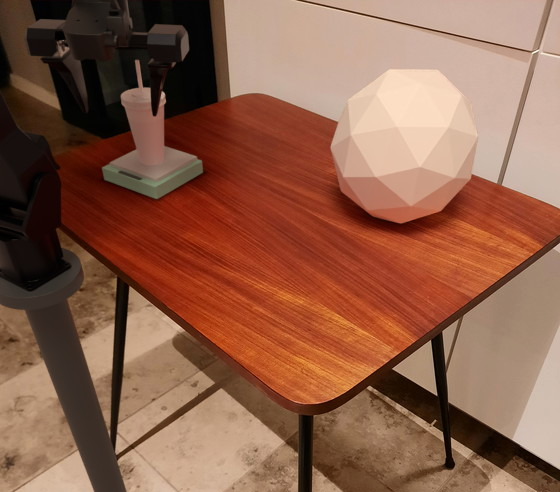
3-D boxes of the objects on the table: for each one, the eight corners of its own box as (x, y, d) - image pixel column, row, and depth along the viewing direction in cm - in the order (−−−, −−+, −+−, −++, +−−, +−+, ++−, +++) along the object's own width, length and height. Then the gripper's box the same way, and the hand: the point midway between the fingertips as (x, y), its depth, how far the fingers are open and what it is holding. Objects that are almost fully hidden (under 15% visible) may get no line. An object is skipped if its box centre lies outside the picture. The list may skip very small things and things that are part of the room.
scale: (156, 199, 84) (154, 183, 82) (104, 179, 88) (100, 163, 86) (203, 172, 90) (201, 156, 88) (152, 155, 94) (149, 140, 92)
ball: (419, 251, 88) (532, 172, 72) (324, 243, 75) (436, 146, 60) (381, 149, 92) (481, 55, 77) (286, 126, 80) (381, 8, 65)
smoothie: (165, 149, 90) (153, 52, 80) (178, 165, 86) (167, 65, 76) (126, 155, 88) (109, 57, 78) (137, 172, 84) (121, 71, 74)
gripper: (-15, -20, 58) (28, 134, 68) (165, -12, 57) (179, 141, 68) (25, -38, 66) (58, 102, 76) (183, -31, 65) (194, 109, 76)
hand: (120, 113), depth 74 cm, fingers open, 9 cm apart
